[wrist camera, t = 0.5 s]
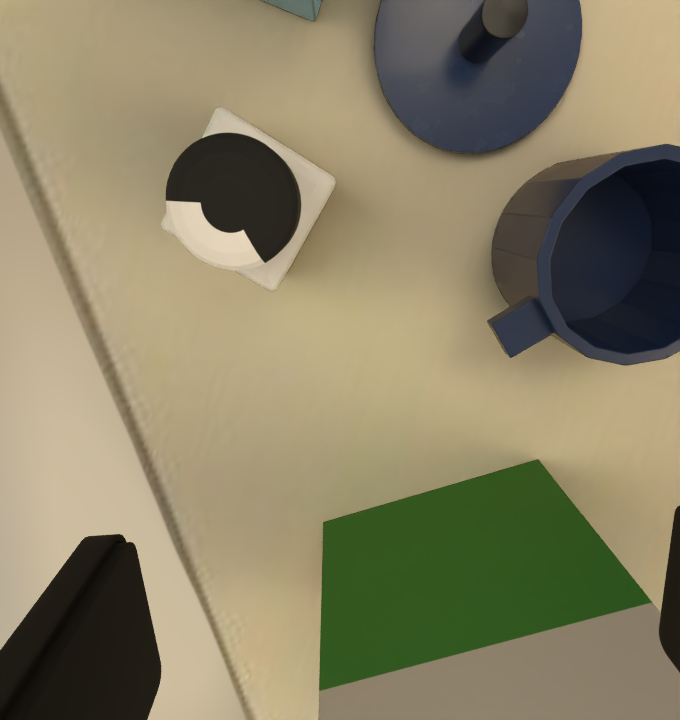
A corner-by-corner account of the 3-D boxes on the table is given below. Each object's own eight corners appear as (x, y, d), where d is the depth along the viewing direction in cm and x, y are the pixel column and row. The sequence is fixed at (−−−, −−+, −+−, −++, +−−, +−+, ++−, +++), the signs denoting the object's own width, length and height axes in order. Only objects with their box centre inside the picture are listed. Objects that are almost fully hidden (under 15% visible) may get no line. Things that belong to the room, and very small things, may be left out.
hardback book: (351, 594, 44) (373, 1027, 21) (323, 522, 42) (313, 916, 19) (556, 536, 42) (821, 932, 19) (538, 459, 40) (811, 801, 17)
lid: (334, 11, 31) (334, -33, 25) (517, -125, 29) (562, -205, 24) (435, 192, 34) (457, 190, 29) (606, 80, 33) (666, 54, 27)
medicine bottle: (240, 123, 33) (191, 81, 21) (337, 183, 34) (339, 174, 23) (191, 222, 35) (121, 233, 23) (284, 277, 36) (262, 312, 24)
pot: (426, 244, 35) (455, 257, 27) (655, 98, 33) (761, 64, 25) (503, 376, 38) (550, 424, 30) (719, 251, 36) (833, 265, 28)
